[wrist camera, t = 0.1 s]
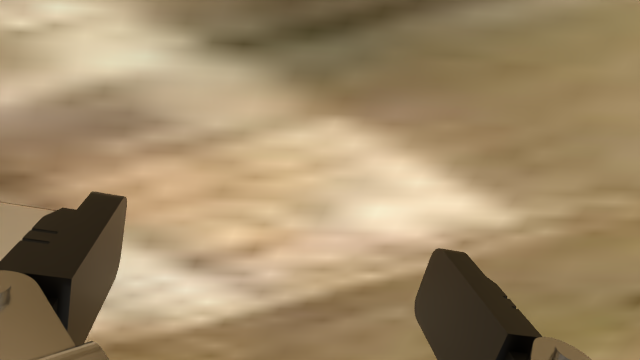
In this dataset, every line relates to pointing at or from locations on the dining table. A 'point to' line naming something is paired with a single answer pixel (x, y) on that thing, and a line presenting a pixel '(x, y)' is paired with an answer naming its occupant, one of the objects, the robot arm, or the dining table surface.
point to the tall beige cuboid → (16, 224)
